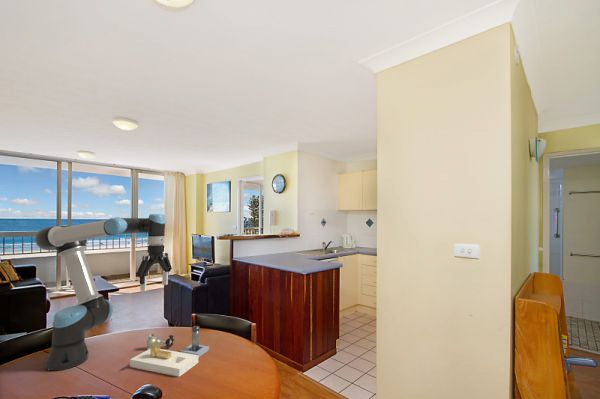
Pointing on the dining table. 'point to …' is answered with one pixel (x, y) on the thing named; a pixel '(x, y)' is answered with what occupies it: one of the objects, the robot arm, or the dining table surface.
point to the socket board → (165, 362)
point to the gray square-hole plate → (200, 352)
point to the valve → (152, 340)
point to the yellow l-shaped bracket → (159, 351)
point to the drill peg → (195, 338)
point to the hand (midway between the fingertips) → (154, 287)
